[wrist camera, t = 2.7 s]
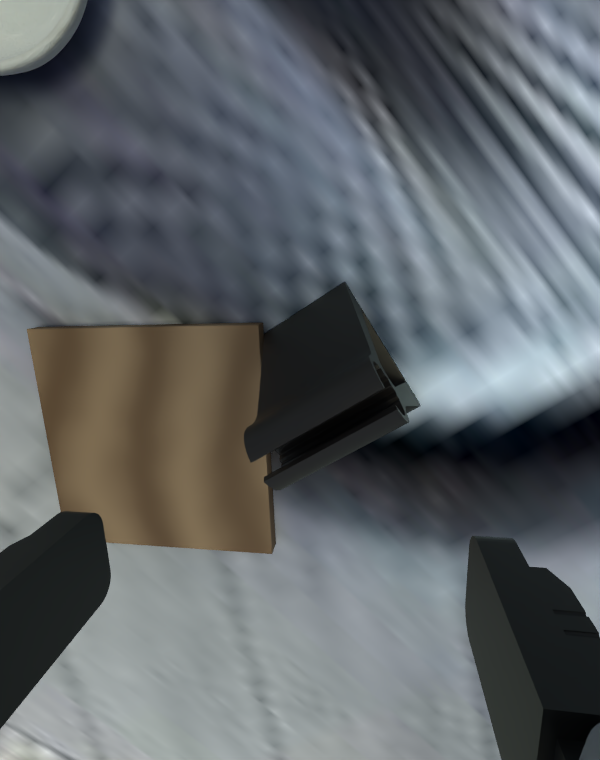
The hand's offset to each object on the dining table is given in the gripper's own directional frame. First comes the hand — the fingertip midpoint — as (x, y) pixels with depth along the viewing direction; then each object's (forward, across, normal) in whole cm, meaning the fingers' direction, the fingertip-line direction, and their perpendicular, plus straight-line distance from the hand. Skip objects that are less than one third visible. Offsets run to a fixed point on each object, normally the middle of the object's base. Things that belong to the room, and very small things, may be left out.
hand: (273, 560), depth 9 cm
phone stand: (+20, 0, 0) cm, 20 cm away
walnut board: (+19, +13, +5) cm, 24 cm away
